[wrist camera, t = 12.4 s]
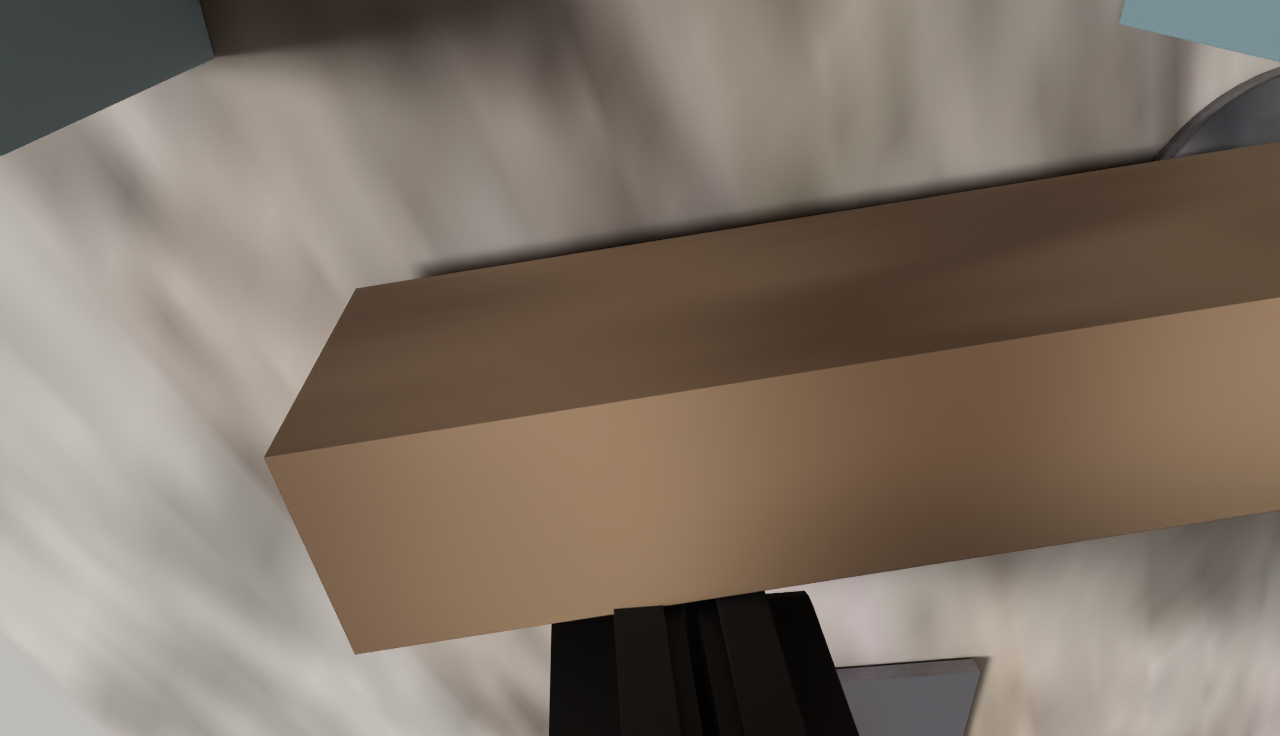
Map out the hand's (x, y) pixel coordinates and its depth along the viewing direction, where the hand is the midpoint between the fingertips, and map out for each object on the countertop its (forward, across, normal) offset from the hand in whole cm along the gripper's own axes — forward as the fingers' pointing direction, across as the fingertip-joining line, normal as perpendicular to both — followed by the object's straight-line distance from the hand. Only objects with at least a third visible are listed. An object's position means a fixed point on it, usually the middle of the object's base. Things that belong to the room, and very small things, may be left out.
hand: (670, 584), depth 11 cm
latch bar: (+1, -3, -3) cm, 5 cm away
